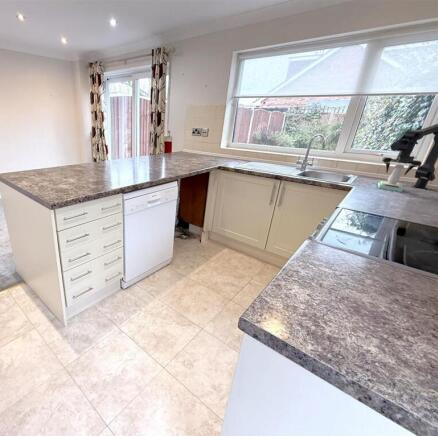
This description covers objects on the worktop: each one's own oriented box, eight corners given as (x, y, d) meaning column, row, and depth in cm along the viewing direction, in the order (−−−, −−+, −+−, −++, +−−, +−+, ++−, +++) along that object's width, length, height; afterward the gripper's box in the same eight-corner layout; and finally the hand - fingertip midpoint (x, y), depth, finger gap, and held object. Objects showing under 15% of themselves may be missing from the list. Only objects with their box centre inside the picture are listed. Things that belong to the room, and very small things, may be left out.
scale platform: (380, 181, 180) (381, 180, 179) (399, 184, 174) (399, 183, 174) (381, 184, 172) (382, 183, 171) (401, 187, 166) (401, 186, 166)
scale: (377, 184, 182) (379, 180, 180) (399, 187, 175) (401, 183, 174) (378, 188, 171) (380, 184, 170) (401, 192, 165) (404, 187, 163)
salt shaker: (399, 184, 170) (408, 166, 164) (389, 184, 171) (398, 165, 165) (393, 182, 175) (402, 164, 169) (384, 181, 176) (392, 163, 170)
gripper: (388, 150, 163) (378, 173, 169) (428, 154, 152) (416, 178, 159) (387, 148, 171) (377, 170, 177) (424, 152, 160) (413, 175, 167)
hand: (395, 173), depth 170 cm, fingers open, 9 cm apart
